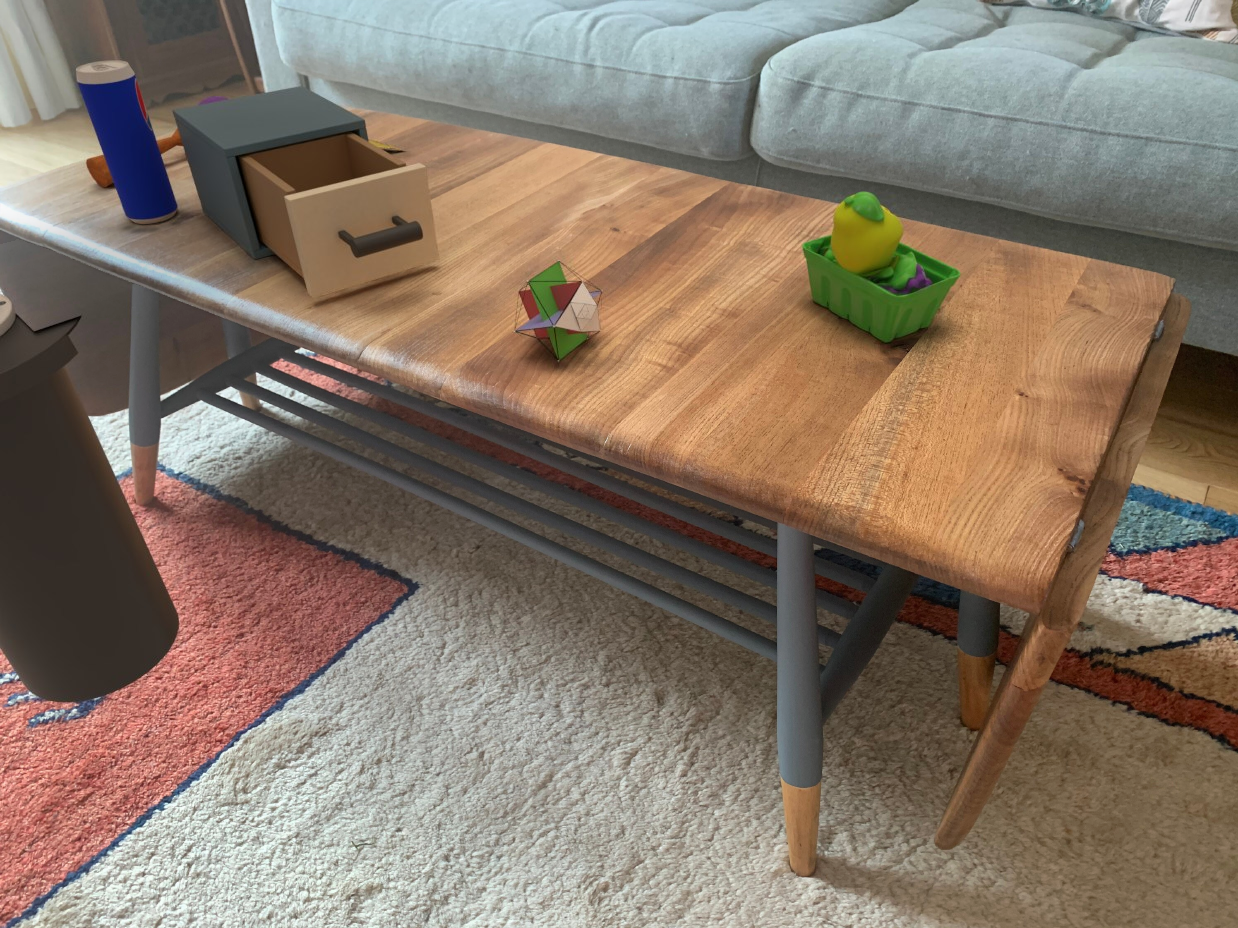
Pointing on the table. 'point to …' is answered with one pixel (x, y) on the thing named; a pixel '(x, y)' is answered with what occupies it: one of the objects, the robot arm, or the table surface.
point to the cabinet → (251, 148)
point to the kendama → (101, 170)
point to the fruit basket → (875, 272)
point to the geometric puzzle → (559, 310)
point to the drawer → (340, 210)
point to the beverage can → (127, 140)
